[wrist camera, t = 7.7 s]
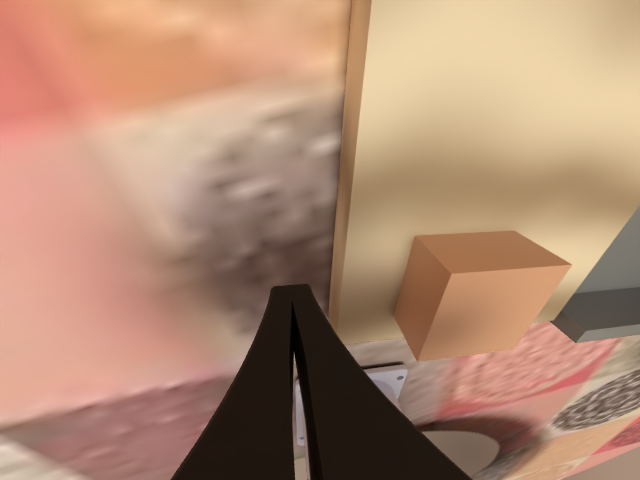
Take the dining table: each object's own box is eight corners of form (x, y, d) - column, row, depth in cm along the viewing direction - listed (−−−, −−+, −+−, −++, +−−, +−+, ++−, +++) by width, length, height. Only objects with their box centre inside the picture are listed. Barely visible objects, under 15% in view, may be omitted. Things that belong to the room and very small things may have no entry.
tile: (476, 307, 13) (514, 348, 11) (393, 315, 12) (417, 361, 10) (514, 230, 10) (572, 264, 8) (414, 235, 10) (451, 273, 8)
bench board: (524, 296, 16) (553, 320, 14) (328, 315, 14) (335, 345, 13) (724, -29, 9) (837, -59, 7) (358, -85, 7) (387, -146, 5)
